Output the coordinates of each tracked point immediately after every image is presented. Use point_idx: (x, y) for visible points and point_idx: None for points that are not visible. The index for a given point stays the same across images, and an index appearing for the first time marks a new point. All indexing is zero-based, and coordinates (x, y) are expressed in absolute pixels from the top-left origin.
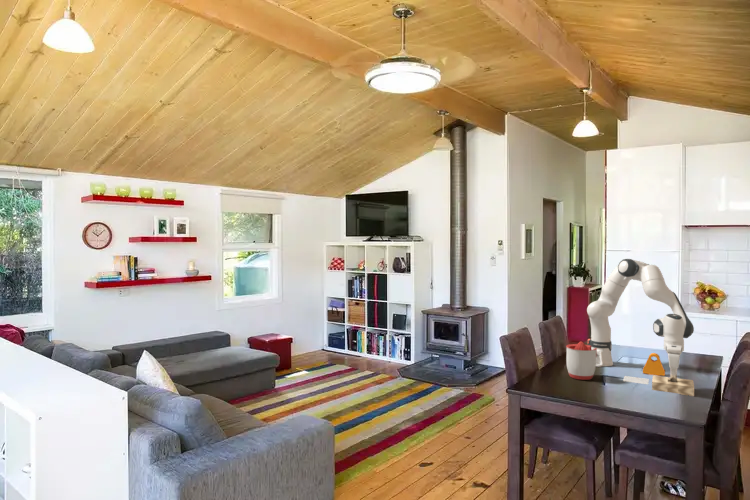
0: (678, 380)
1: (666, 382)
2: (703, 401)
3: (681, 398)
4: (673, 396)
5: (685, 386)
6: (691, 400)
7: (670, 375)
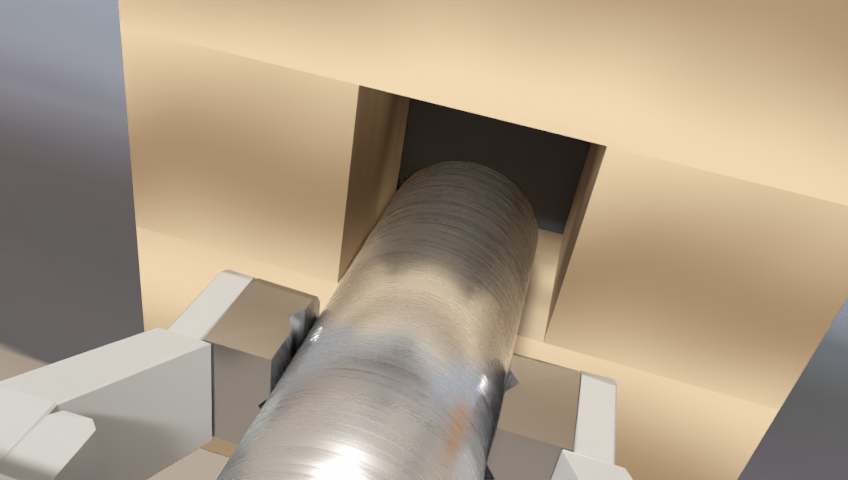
0: (558, 357)
1: (228, 26)
2: (58, 352)
3: (18, 131)
4: (51, 34)
5: (147, 326)
6: (8, 234)
7: (400, 244)
